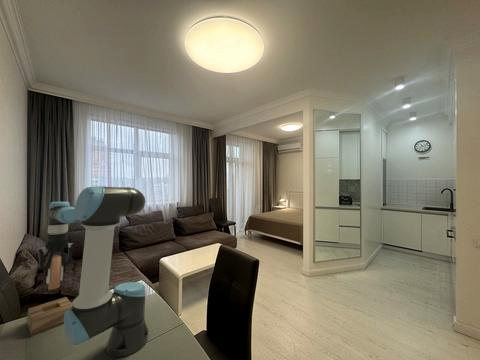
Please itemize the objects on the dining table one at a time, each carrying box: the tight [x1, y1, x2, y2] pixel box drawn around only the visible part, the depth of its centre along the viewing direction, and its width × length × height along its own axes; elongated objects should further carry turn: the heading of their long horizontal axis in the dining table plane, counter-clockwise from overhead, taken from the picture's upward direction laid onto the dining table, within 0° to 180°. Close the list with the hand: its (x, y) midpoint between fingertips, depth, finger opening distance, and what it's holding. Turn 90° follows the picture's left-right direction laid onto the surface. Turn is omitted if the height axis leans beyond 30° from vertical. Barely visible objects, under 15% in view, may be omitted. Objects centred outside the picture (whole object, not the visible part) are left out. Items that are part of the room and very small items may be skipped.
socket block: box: [26, 296, 73, 338], centre depth 95 cm, size 14×14×7 cm
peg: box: [47, 254, 62, 291], centre depth 96 cm, size 4×4×15 cm
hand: (54, 281), depth 96 cm, fingers closed on peg, 4 cm apart
